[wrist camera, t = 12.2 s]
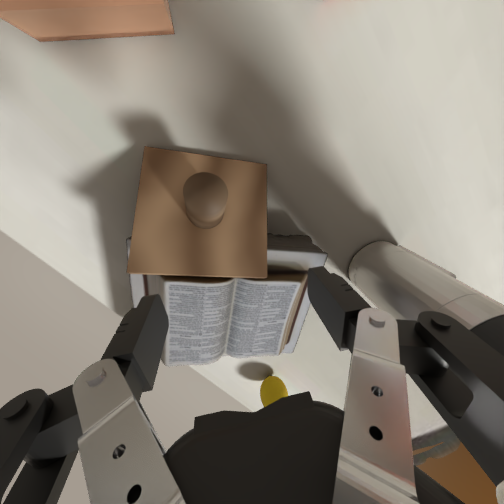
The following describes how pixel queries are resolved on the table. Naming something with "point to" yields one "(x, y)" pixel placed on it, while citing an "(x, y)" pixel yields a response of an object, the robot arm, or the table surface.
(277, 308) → the bible
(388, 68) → the table surface
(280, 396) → the lemon
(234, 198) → the lid
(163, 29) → the dish
